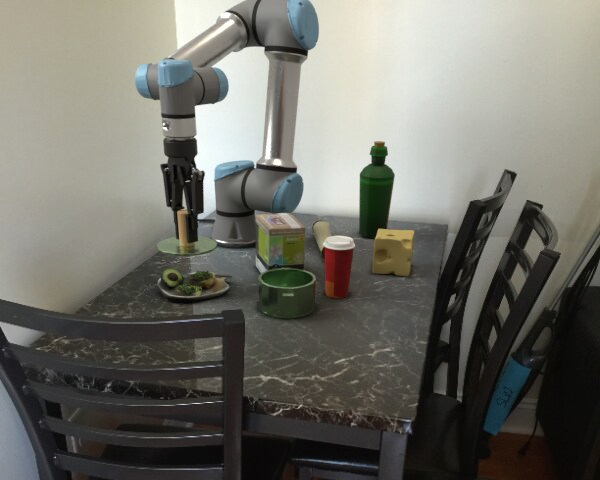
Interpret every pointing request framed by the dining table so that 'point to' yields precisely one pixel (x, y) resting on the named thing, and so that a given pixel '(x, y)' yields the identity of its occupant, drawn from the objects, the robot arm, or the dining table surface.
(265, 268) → the tea box
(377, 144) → the bottle
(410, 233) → the cheese
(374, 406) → the dining table surface
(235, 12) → the robot arm
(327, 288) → the paper cup
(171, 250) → the lid
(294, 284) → the pot
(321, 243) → the rolling pin
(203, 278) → the salad plate
